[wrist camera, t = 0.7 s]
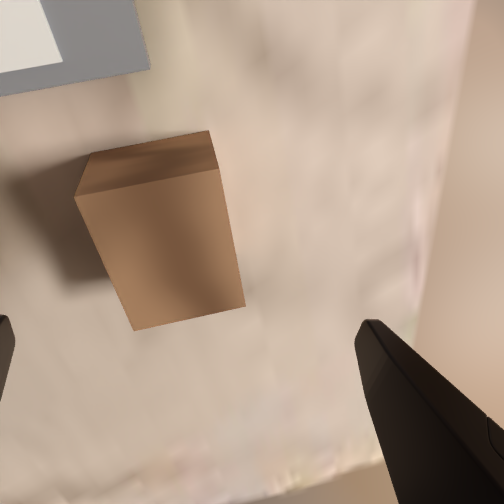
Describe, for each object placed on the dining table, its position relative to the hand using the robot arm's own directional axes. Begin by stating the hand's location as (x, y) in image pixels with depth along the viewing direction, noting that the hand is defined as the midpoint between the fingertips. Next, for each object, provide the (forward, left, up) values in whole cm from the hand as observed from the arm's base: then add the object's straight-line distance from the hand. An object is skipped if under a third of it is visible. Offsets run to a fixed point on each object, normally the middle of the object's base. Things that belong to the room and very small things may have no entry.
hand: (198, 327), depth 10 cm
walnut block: (-1, -3, -13) cm, 14 cm away
